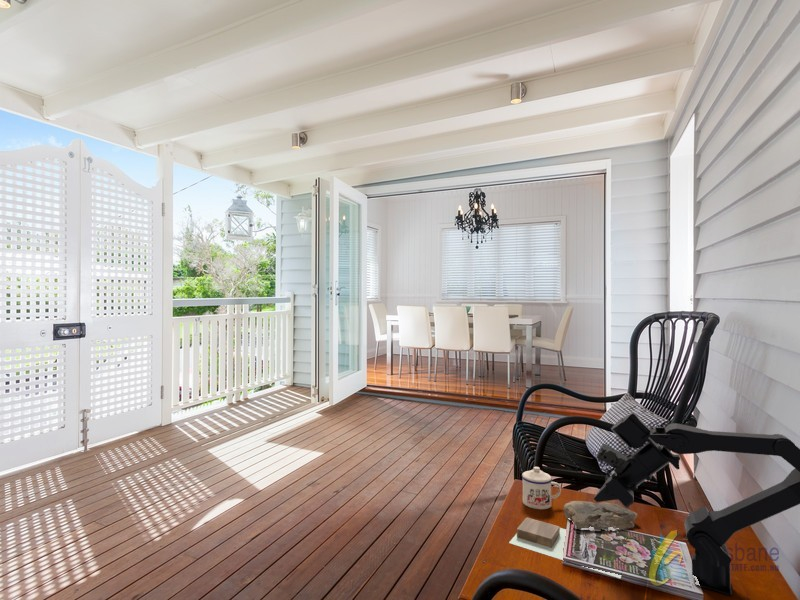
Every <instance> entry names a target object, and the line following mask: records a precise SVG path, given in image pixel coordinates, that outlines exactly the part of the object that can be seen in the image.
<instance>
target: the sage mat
mask: <svg viewBox="0 0 800 600" xmlns="http://www.w3.org/2000/svg"><path fill="white" fill-rule="evenodd" d="M566 530H567V528H566V529H565V528H563V527H560V535H559V537H558V538H557V540H556V542H555V543H554V545H553V546H552V548H550V547H547V546H544V545H541V544H537V543H534V542H531V541H528V540H524V539H521V538H518V537H517V532H516V533H515V535H514V536H513V537H512V538H511V539H510V541H509V542H508V544H511V545H514V546H517V547H520V548H524V549H525V550H526V549H527V550H530V551H533V552H535V553H539V554H542V555H545V556H547V557H548V556H549V557H552V558H553V559H556V560H561V561H564V560H563V548H564V542H565V536H566ZM564 562H565V561H564ZM581 567H583V568H586V569H589V570H592V571H595V572H599V573H602V574H604V575H608V576H610V577H614V578H617V579H621V578H622V575H618V574H615V573H610V572H605V571H602V570H598V569H593V568H588V567H584V566H581Z"/></svg>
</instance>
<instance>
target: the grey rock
mask: <svg viewBox="0 0 800 600" xmlns="http://www.w3.org/2000/svg"><path fill="white" fill-rule="evenodd" d="M563 510H564V511H563V514H564V516H565V518H566V519H567V520H568V518H570V519H572V521H573V522H574V525H576V526H578V527H581V528H589V527H590V526H591V527H613V528H619V529H623V530H626V529H634V528H635V523H634V521H635V520H636V519H637V517H638V513H637V512H635V511H634V510H631V509H629V508H627V507H625V506H622V505H620V504H616V503H612V502H609V501H602V502H596V503H595V502H593V501H586V500H585V501H583V500H571V501H569V502H566V503H565V504H564V505H563Z"/></svg>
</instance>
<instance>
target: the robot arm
mask: <svg viewBox="0 0 800 600" xmlns="http://www.w3.org/2000/svg"><path fill="white" fill-rule="evenodd" d="M610 430H611V431H612V432H613V433H614V434H615V435H616V437H618V438H619V439H620V440H621V441H622V443H624V444H625V445H626V446H627V447H628V448H629V449H630V448H633V449H636V450H637V451H635V452H634V453H633V452H632V453H630V452H629V453H628V454H627V455H625V454H623V453H622V452H621V451H619V450H617V449H616V448H613V447H611V446H610V445H609V444H606V443H602V445H601V446H600V448H599V450H598V452H597V454H596V459H597V460H598V461H600V462H604V463H605V464H606V465H608V466H610V467H612V468H614V469H613V470H612V471H610V470H609V469H607V471H606V475H605V482H604V484H603V485H602V487H600V489H599V490H598V491H597V493H595V496H594V497H593V500H594V501H595V502H596V503H602V502H609V501H610V502H611V501H617V500H618V501H619V502H620V503H621V504H622V505H623V507H625V508H629V507H631V506H632V505H633V504H634V501H635V500H634V492H635V491H637V490H638V486H640V485H641V484H643V483H644V482H645V481H647V482H650V481H651V480H652V477H653V476H654V475H655V474H656V473H657V472H659V471H660V470H662V469H663V468H665V466H667V465H668V464H669V463H670V465H672V466H673V468H675V469H676V470H680V469H681V468H680V460H681V457H680V455H689V454H690V455H691V454H700V453H705V452H712V451H714V452H725V453H726V452H728V453H736V454H737V453H738V454H739V453H740V454H741V453H742V454H750V455H762V456H763V455H765V456H775V457H777V456H778V457H780V458H782V459H783V460H785V462H787V463H788V464H789V465H791V466H792V467H793V468H794V469H792V470H791V471H790V472H789V474H788V475H787V476H786V477H785V479H784V480H782V481H781V482H779V483H776V484H775V485H773V486H770V487H768V488H766V489H763V490H762V491H760V492H757V493H755V494H752V495H750V496H749V497H746V498H744V499H743V500H740V501H737V502H735V503H734V504H733V503H732V504H731V505H730V506H727V507H725V508H722V509H721V510H711V511H710V510H709V509H708V507H707V506H706V505H703V506H701V507H700V508H698V509H697V510H695V511H689V512H688V516H687V517H686V518H685V519H684V524H683V525H684V530H685V533H686V534H685V535H686V539H687V541H688V544H689V545H690V546H691V547H692V548H693V549H694V553H693V554H691V573H692V574H691V575H694V576H696V577H697V579H698V581H699V584H700V586H701V588H704V589H707V590H710V591H714V592H717V593H720V594H724V595H726V596H727V595H728V596H732V595H733V592H732V584H731V561H732V557H731V555H730V554H731V553H730V552H729V550H728V547H727V544H726V543H728V541H730V540H731V538H732V536H734V534H735V533H738V532H740V531H741V530H743V529H746V528H748V527H750V526H753V525H755V524H758V523H760V522H762V521H764V520H767V519H768V518H772V517H774V516H776V515H778V514H781V513H782V512H785V511H787V510H790V509H792V508H794V507H796V506H798V505H800V447H798V446H797V445H796V444H795V443H794V442H793V441H792V440H791V439H790V438H788V437H787V436H785V435H783V434H780V433H775V434H767V433H766V434H762V433H747V432H746V433H745V432H744V433H743V432H733V431H732V432H729V431H717V430H716V431H715V430H707V429H706V430H705V429H702V428H699V427H695V426H691V425H686V424H683V423H682V424H681V423H677V422H674V423H669V424H668V425H666V426H661V427H660V426H658V427H657V426H656V427H649V426H648V425H646V424H645V423H644V422H643V421H642V420H641V419H640V418H639V416H638V415H637V414H636V413H635V412H633V411H632V412H631V413H630V414H627V415H626V416H624V417H621V418H620V419H619V420H618V421H617V422H615V423H614V424H613V425H612V427H610ZM639 448H640V449H639ZM700 586H699V587H700Z"/></svg>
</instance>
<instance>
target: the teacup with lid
mask: <svg viewBox="0 0 800 600" xmlns="http://www.w3.org/2000/svg"><path fill="white" fill-rule="evenodd" d="M521 478H522V503H523V505H524V506H526V507H529V508H531V509H534V510H547V509H550V508H552V499H557V498H559V496H560V495H561V492H562V486H561V485H560V483H558V482H555V481H553V479H552V477H551V475H550V474H549V473H546V472H544V471H543V470H541V469H540V467H539V466H534V467H533V468H532V469H531V470H526V471H524V472H522V474H521ZM552 485H553V486H557V489H558V490H557V492H556V493H555V494H552Z"/></svg>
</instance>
